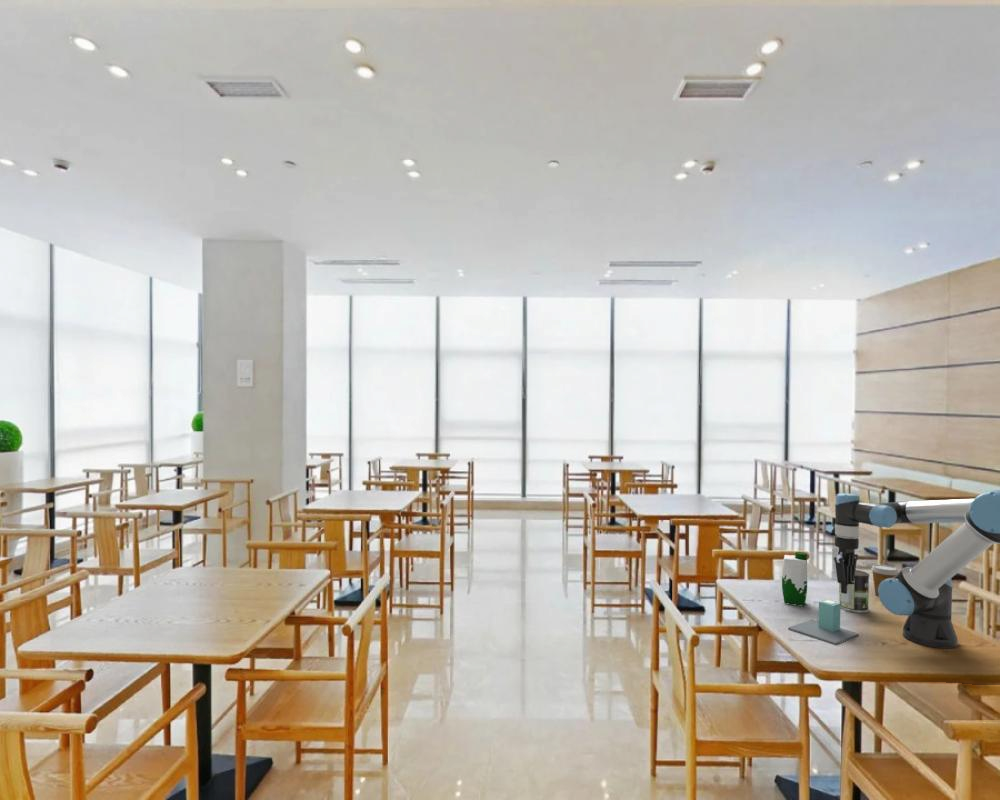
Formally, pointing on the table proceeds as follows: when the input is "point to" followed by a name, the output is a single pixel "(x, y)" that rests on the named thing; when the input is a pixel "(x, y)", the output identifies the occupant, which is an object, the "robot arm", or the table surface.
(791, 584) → the milk carton
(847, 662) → the table surface
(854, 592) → the coffee can
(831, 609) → the block
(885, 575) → the disposable coffee cup
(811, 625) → the mat
